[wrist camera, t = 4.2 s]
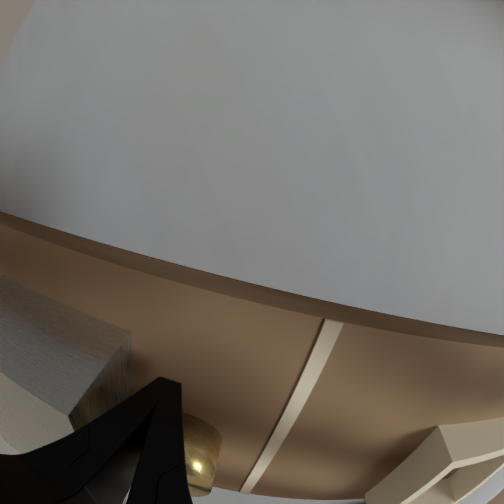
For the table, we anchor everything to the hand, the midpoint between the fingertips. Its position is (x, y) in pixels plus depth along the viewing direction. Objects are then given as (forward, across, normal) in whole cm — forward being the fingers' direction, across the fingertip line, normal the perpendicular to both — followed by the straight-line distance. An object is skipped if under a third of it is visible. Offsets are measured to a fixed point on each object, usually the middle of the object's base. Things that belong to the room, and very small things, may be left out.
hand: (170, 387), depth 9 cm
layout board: (+2, -4, +4) cm, 6 cm away
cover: (+1, +6, +4) cm, 7 cm away
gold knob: (+1, 0, +5) cm, 5 cm away
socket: (+1, -16, +6) cm, 17 cm away
